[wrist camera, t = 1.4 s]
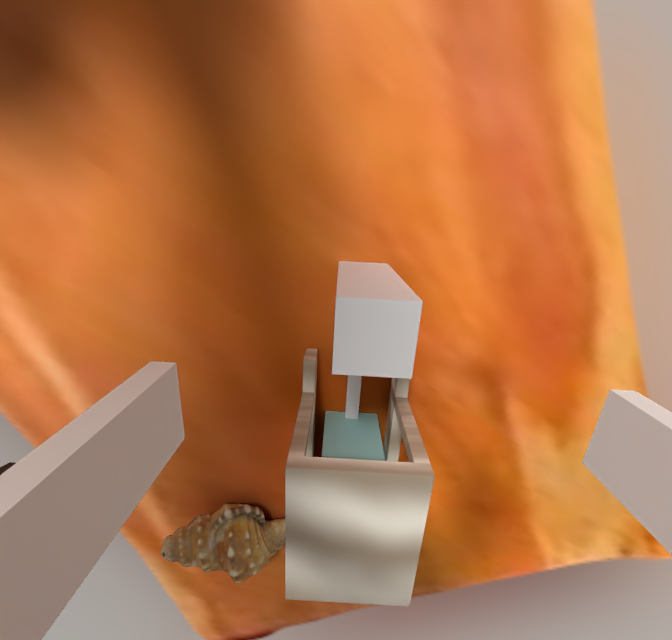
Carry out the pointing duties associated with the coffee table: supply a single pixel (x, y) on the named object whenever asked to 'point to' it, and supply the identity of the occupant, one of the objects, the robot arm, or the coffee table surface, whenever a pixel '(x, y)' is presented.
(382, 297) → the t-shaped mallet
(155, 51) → the coffee table surface
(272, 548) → the seashell
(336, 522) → the shelf
